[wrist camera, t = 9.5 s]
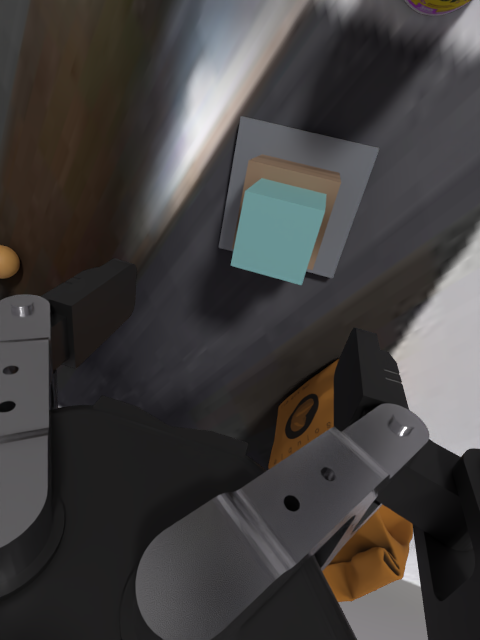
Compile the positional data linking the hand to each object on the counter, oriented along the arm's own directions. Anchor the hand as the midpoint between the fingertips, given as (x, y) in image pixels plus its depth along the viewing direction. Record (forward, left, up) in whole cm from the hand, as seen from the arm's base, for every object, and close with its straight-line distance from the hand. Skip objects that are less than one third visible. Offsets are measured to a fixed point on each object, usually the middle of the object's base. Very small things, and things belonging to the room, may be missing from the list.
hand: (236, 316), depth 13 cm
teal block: (+1, 0, -17) cm, 17 cm away
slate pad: (+1, 0, -24) cm, 24 cm away
